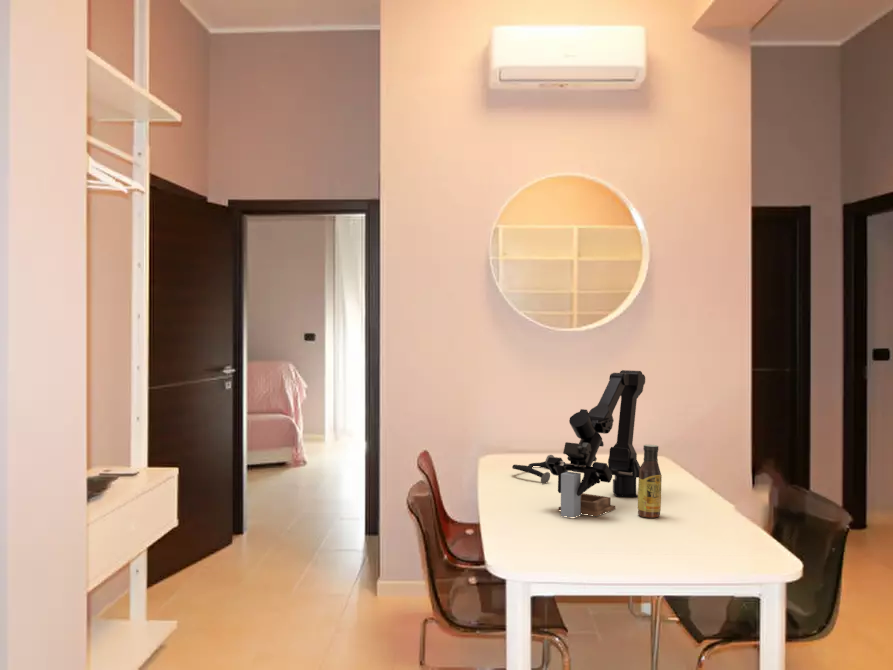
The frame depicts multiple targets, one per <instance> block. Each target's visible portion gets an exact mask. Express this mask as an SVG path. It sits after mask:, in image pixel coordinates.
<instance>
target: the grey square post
mask: <svg viewBox="0 0 893 670" xmlns="http://www.w3.org/2000/svg"><path fill="white" fill-rule="evenodd" d="M581 475H582V473H579V472H573V471H568V472H565V473H562V474H561V493H560V507H561V511H560V517H561V516H567V517H576V516H579V515H581V495H580V496H578V495H577V491H578V488H579V486H580V483H581V481H582V478H581V477H582V476H581ZM581 516H582V515H581Z"/></svg>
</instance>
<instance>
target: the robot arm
mask: <svg viewBox="0 0 893 670" xmlns="http://www.w3.org/2000/svg"><path fill="white" fill-rule="evenodd" d="M608 379H609V381H608V383H607V385H606V387H605V389H604V391H603V392H602V395H601V397H600V399H599V402H598V403H597V405H595V406H594V407H592V408H591V409H590V410H589V411H588V409H585V408H580V411H578V412H575V413H574V414H573V415H571V416H570V417H569V424H570V426H571V428H572V430H573V432H574V434H575V436H576V437H577V438H578V439H580V440H579V441H578V443H576V442H575V443H574V442H568V441H567V442H565V443H564V448H563V452H562V454H563V455H566V456H567V457H566V459H567V460H568V461H569V462H570V463H569V462H565V461H564V460H563V458H562V457H557V456H554V457H549V458H548V459H547V461H546V460H545V461H546V465H547V466H548V468H547V469H549V472H550V473H551V475H553V476H558V477H557V479H558V480H557V491H558V494H561V474H562V473H565V472H574V473H581V474H583V477H582V478H581V483H580V486H579V488H578V491H577V495H578V496H580V495H581V494H582V493H584V492H586V491H588V490H589V489H590V488H592V487H593V486H595V485H597V484H600V483H601V482H602V483H611V481H612V493H613V494H614V496H615V497H619V498H625V497H626V498H638V493H637V478H638V479H639V469H640V467H641V465H640V464H639V461H638V459H637V457H638V454H637V451H636V449H635V447H634V445H633V441H634V431H635V421H636V411H637V401H638V400H637V399H638V398H639V397H640V395H641V394H642V393H643V391H644V388H645V387H644V385H645V384H646V376H645V374H643V372H642V371H641V370H631V369H629V370H626V369H625V370H623V369H621V370H620V371H619V372H611V373H610V374H609V378H608ZM619 399H620V400H619ZM619 401H620V405H619V406H620V407H619V416H618V424H617V425H618V427H617V435H616V437H617V438H616V443H615V444H614V445H613V446H611V447H610V448H609V456H608V460H607V463H606V462H599V461H597V459H598V458H597V456H596V455H597V453H598V450H599V448H600V447H604V445H605V444H604V441H603V437H602V436H601V434H606V435H607V434H609V433H610V432H611V430H612V429H613V425H614V418H613V415H614V410H615V408H616V406H617V405H618V403H619ZM613 476H614V478H613ZM612 478H613V479H612ZM584 494H585V493H584Z"/></svg>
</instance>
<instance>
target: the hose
mask: <svg viewBox="0 0 893 670" xmlns="http://www.w3.org/2000/svg"><path fill="white" fill-rule="evenodd" d="M549 457H555V455H553V454H548V455H547V456H546V457H545V461H542V462H532V463H529V464H528V465H523V464H512V469H513V470H515V471H516V470H517V471H521V472H525V473H528V474H532V475H534V476H537V477H539V478H540V483H545V484H547V483H549V481H550V478H551V474H550V473H551V472H550V471H546V472H545V473H543V472H542V471H540V470H537V469H534V467H533V466H541V467H548V466H547V465H546V461H547V459H548V458H549ZM532 467H533V468H532ZM541 467H540V468H541ZM546 482H547V483H546Z"/></svg>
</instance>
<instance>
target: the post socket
mask: <svg viewBox="0 0 893 670" xmlns="http://www.w3.org/2000/svg"><path fill="white" fill-rule="evenodd" d="M611 503H612V500H611V497H610V496H603V495H597V494H589V493H582V494H581V513H582V514H588V515H593V516H598V515H600V514H603V513H605V512H608V511H610V512H612V511H614V509H615V510H616V505H612V504H611ZM557 508H558V509H557V510H561V506H558V507H557ZM611 510H612V511H611ZM608 513H609V512H608ZM605 514H606V513H605ZM603 515H604V514H603ZM600 516H601V515H600ZM598 517H599V516H598Z"/></svg>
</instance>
